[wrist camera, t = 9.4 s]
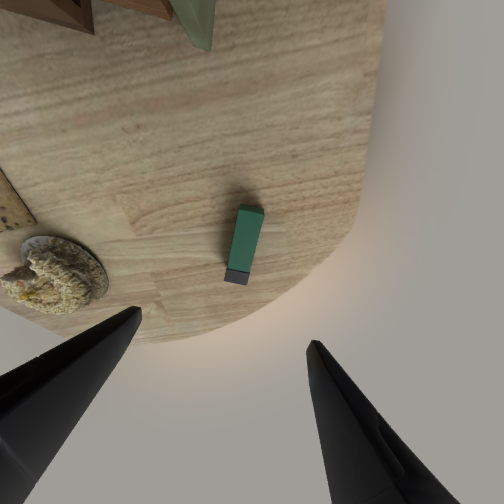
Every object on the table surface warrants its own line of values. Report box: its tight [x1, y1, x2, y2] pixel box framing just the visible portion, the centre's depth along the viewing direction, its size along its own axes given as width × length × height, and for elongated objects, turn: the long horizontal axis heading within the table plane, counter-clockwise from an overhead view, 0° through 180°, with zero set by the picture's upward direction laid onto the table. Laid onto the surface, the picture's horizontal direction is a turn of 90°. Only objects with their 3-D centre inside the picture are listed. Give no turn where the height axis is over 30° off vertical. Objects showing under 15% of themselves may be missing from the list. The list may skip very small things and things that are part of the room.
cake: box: [0, 235, 108, 314], centre depth 21 cm, size 10×10×5 cm
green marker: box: [224, 204, 264, 285], centre depth 19 cm, size 8×2×2 cm, turn 167°
